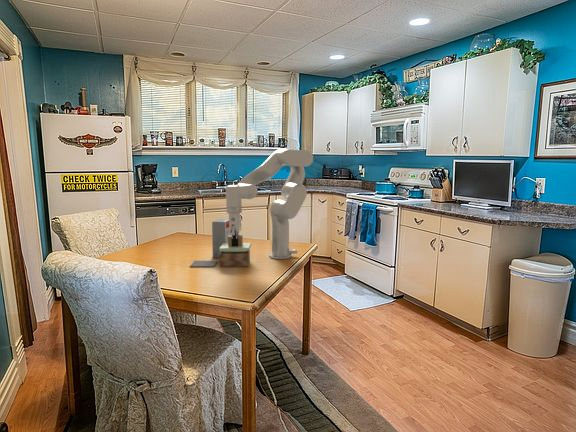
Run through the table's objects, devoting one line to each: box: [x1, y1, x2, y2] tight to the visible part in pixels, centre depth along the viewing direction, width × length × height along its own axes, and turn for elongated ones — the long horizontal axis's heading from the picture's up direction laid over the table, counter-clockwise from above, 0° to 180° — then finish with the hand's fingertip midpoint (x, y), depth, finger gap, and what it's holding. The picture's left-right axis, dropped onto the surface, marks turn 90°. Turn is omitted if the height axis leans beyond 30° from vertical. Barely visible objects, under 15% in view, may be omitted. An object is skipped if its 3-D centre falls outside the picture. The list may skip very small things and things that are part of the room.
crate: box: [219, 250, 251, 268], centre depth 188 cm, size 14×10×7 cm
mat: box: [189, 260, 218, 268], centre depth 188 cm, size 12×10×1 cm
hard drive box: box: [211, 217, 232, 258], centre depth 206 cm, size 16×8×20 cm, turn 168°
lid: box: [219, 234, 252, 252], centre depth 187 cm, size 15×11×8 cm
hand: (235, 245), depth 187 cm, fingers closed on lid, 3 cm apart
